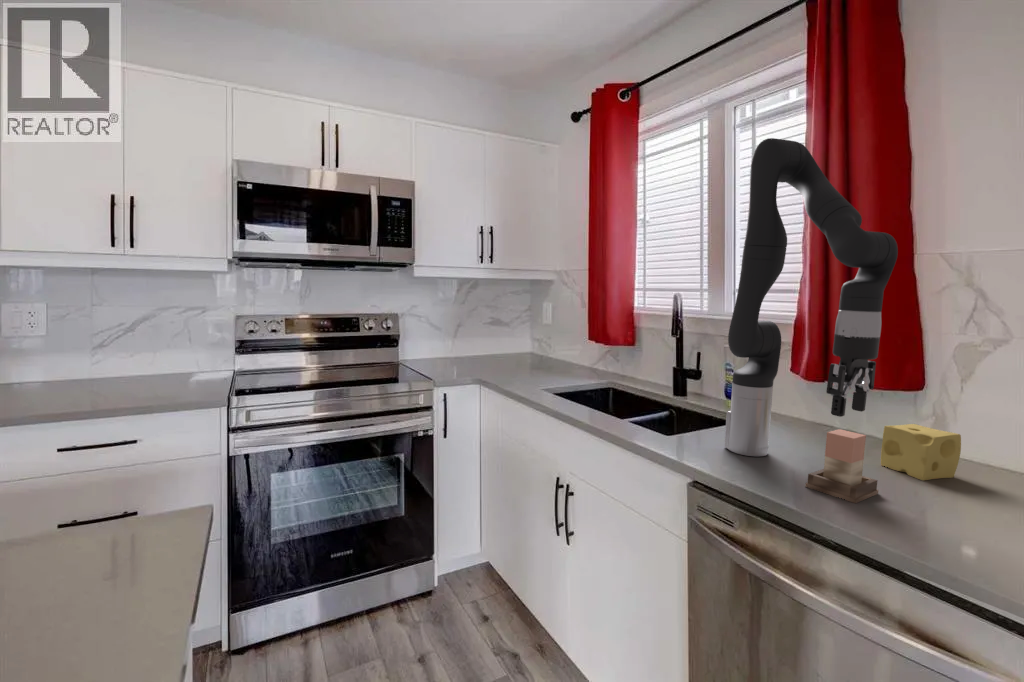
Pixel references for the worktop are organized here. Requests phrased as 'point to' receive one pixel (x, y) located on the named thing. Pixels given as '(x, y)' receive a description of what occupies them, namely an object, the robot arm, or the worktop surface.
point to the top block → (845, 445)
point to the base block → (843, 471)
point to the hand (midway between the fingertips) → (848, 413)
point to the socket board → (842, 487)
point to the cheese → (920, 451)
